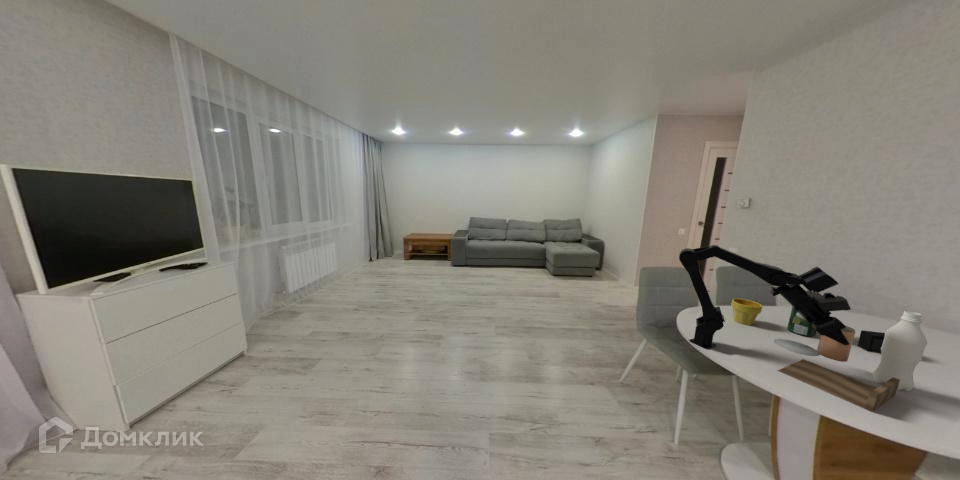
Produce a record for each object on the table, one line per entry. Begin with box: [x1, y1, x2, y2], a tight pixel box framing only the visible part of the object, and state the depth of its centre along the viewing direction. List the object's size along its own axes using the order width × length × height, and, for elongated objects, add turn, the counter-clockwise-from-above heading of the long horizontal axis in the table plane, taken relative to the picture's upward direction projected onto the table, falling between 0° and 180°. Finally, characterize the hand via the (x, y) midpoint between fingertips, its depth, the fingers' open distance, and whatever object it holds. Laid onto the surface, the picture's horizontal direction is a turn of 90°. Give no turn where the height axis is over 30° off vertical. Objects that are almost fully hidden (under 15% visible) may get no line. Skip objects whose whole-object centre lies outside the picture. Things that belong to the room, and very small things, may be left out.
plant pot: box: [730, 298, 763, 326], centre depth 131 cm, size 10×10×10 cm
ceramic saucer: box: [773, 338, 821, 357], centre depth 109 cm, size 12×12×1 cm
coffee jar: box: [787, 290, 823, 337], centre depth 121 cm, size 10×8×19 cm
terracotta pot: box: [816, 325, 856, 363], centre depth 91 cm, size 6×6×10 cm
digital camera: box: [857, 330, 885, 354], centre depth 108 cm, size 10×5×7 cm, turn 74°
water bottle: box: [872, 310, 928, 392], centre depth 86 cm, size 7×7×25 cm
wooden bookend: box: [777, 358, 900, 413], centre depth 88 cm, size 18×19×6 cm
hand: (842, 340), depth 90 cm, fingers closed on terracotta pot, 6 cm apart
